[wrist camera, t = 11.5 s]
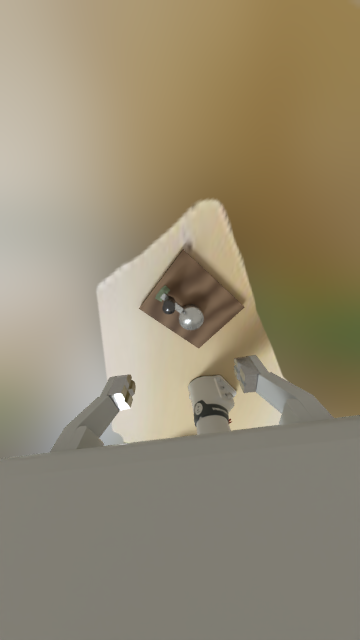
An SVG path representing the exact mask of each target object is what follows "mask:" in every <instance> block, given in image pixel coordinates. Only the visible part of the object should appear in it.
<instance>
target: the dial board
mask: <svg viewBox="0 0 360 640" xmlns="http://www.w3.org/2000/svg"><path fill="white" fill-rule="evenodd" d="M164 292H165V293H166V294H168V295H169V296H172V297H173V298H174V299H175V301H176V302H177V303H179V304H180V305H181V306H182V307H184V306H185V305H188V304H194V305H197V306H198V307H199V308H200V309H201V311H202V313H203V316H204V321H203V324H202V325H201V326H200V327H199V328H198V329H195V330H186V329H184V328H183V327H182V326H181V325H180V323H179V312H178V311H176V310H175V311H174V313H172V314H165V313H164V312H163V310H162V307H163V303H164V300H162V299H161V298H160V297H161V295H162V294H163V293H164ZM243 308H244V306H243V305H242V304H241V303H240V302H238V301H237V300H236V299H235V298H234V297H233V296H232V295H231V294H230V293H229V292H228V291H227V290H226V289H225V288H224V287H223V286H221V285H220V284H219V283H218V282H217V281H216V280H215V279H214V278H213V277H212V276H211V275H210V274H209V273H208V272H207V271H206V270H205V269H203V268H202V267H201V266H200V265H199V264H198V263H197V262H196V261H195V260H194V259H193V258H192V257H191V256H190V255H189V254H188V253H186V252H185V251H184V250H182V251H181V253H180V254H179V255H178V257H177V258H176V259H175V261H174V262H173V263H172V265H171V266H170V268H169V269H168V270H167V272H166V273H165V274H164V276H163V277H162V278H161V280H160V281H159V282H158V284H157V285H156V286H155V288H154V289H153V290H152V292H151V293H150V294H149V296H148V297H147V298H146V300H145V301H144V302H143V304H142V305H141V306H140V308H139V309H140V310H142V311H143V312H145V313H146V314H148V315H149V316H151V317H152V318H154V319H155V320H157V321H158V322H160V323H161V324H163V325H164V326H166V327H167V328H169V329H170V330H172V331H173V332H175V333H176V334H178V335H179V336H181V337H182V338H184V339H185V340H187V341H188V342H190V343H191V344H193V345H194V346H196V347H197V348H200V347H201V346H202V345H203V344H204V343H205V342H206V341H207V340H209V339H210V338H211V337H212V336H213V335H214V334H215V333H216V332H217V331H219V330H220V329H221V328H222V327H223V326H224V325H225V324H226V323H228V322H229V321H230V320H231V319H232V318H233V317H234V316H235V315H236V314H238V313H239V312H240V311H241V310H242V309H243Z"/></svg>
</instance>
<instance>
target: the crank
mask: <svg viewBox="0 0 360 640" xmlns="http://www.w3.org/2000/svg"><path fill="white" fill-rule="evenodd" d="M160 298H161V299H162V300H164V303H163V307H162V310H163V312H164V313H165V314H172V313H174V311H175V310H176V311H178V312H179V323H180V325H181V326H182V327H183V328H184V329H186V330H195V329H198V328H199V327H200V326H201V325H202V324H203V321H204V316H203V313H202V311H201V309H200V308H199V307H198V306H197V305H194V304H188V305H185V306H184V307H182V306H181V305H180V304H179V303H177V302H176V301H175V299H174V298H173V297H172V296H169V295H168V294H166V293H165V292H164V293H163V294H162V295H161V297H160Z"/></svg>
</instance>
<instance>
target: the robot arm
mask: <svg viewBox="0 0 360 640" xmlns="http://www.w3.org/2000/svg"><path fill="white" fill-rule="evenodd" d="M234 363H235V366H234V372H235V375H236V378H237V379H238V380H239V381H240V386H241V388H242V390H243V393H248V392H256V393H258V394H259V395H260V396H261V397H262V398H264V399H265V400H266V401H267V402H268V403H270V404H271V405H272V406H273V407H274V408H276V409H277V410H278V411H279V412H280V413H282V415H281V418H280V421H279V424H280V425H274V426H266V427H258V428H249V429H241V430H233V431H231V430H230V427H229V423H231V422H232V421H231V422H229V421H230V420H231V419H229V416H228V413H229V412H230V410H231V409H232V408H233V407H234V400H233V397H234V396H235V395H236V390H235V389H234V388H233V387H232V386H231V385H230V384H229V383H228V382H227V381H226V380H225V379H224V378H223V377H222V376H221V375H216V376H203V377H199V378H196V379H194V380H193V381H192V382H191V383H190V384H189V386H188V390H189V393H190V394H189V398H190V399H191V403H192V408H193V412H194V422H195V426H196V427H197V435H191V436H183V437H174V438H166V439H158V440H150V441H141V442H133V443H125V444H117V445H108V446H103V445H104V443H103V442H102V441H101V440H100V439H99V437H100V436H101V435H102V433H103V432H104V431H105V429H106V428H107V427H108V425H109V424H110V423H111V421H112V420H113V419H114V417H115V416H116V415H117V413H118V412H119V410H124V409H129V408H131V404H132V401H133V399H132V396H133V395H134V394H135V387H136V386H135V382H134V381H133V380H131V379H132V377H131V375H121V376H114V377H110V378H109V380H108V382H107V384H106V386H105V388H104V390H103V392H102V394H101V396H100V397H98V398H97V399H95V400H94V401H93V402H92V403H91V404H90V405H89V406H88V407H87V408H86V409H84V410H83V412H81V413H80V414H79V415H78V416H77V417H76V418H75V419H74V420H72V421H71V422H70V423H69V424H68V425H67V426H66V427H65V428H64V430H63V431H62V433H61V435H60V436H59V438H58V439H57V441H56V443H55V444H54V446H53V448H52V449H51V451H50V453H42V454H33V455H25V456H17V457H8V458H1V459H0V640H360V415H357V416H349V417H342V418H333V417H332V416H331V414H330V413H329V412H328V411H327V410H326V409H325V408H324V407H323V406H322V405H321V404H320V403H319V401H318V400H317V399H316V398H315V397H314V396H313V395H312V394H310V393H308V392H306V391H304V390H302V389H301V388H299V387H297V386H295V385H293V384H291V383H290V382H288V381H286V380H284V379H282V378H281V377H279V376H277V375H275V374H273V373H272V372H270V373H269V372H268V371H267V369H266V368H265V367H264V365H263V364H262V363H261V361H260V360H259V359H258V357H257V356H256V355H252V356H246V357H240V358H235V359H234Z"/></svg>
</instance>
